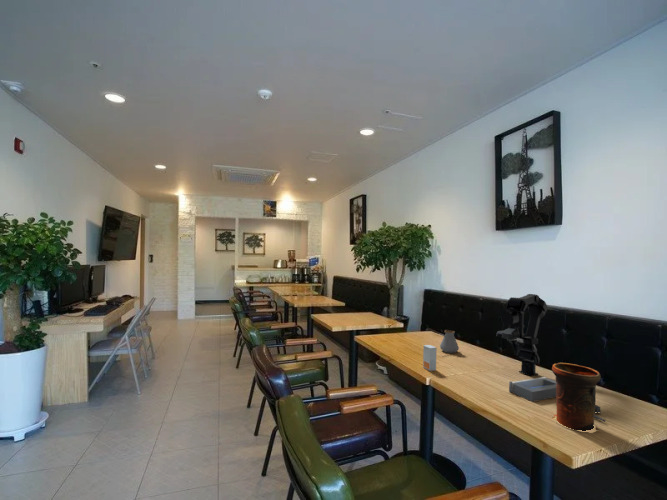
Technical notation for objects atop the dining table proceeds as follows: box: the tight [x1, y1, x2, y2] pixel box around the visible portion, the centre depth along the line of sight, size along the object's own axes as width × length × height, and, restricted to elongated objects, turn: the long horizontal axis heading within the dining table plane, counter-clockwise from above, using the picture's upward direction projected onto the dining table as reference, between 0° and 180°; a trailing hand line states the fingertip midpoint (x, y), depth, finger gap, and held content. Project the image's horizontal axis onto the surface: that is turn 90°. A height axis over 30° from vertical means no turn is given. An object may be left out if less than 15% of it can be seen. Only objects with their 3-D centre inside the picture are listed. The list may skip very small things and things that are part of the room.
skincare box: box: [422, 344, 437, 372], centre depth 180 cm, size 6×4×12 cm
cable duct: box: [513, 378, 557, 403], centre depth 150 cm, size 22×9×4 cm, turn 112°
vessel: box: [550, 362, 602, 431], centre depth 123 cm, size 14×14×20 cm
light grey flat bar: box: [508, 376, 548, 393], centre depth 155 cm, size 23×1×4 cm, turn 112°
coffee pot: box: [426, 327, 460, 354], centre depth 216 cm, size 21×12×15 cm, turn 98°
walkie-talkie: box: [594, 404, 606, 423], centre depth 134 cm, size 9×4×20 cm
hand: (516, 354), depth 168 cm, fingers closed
